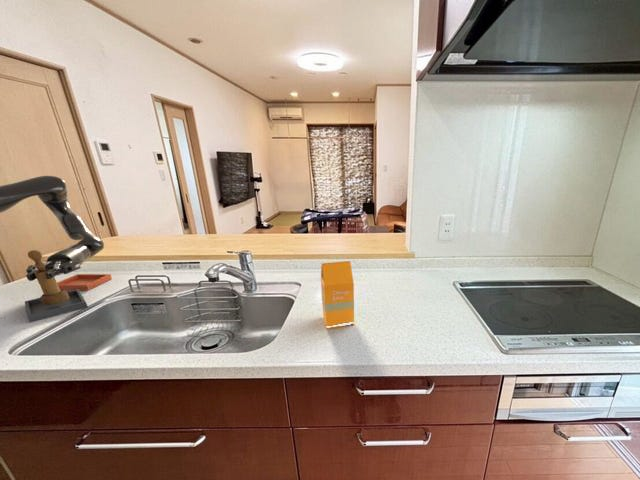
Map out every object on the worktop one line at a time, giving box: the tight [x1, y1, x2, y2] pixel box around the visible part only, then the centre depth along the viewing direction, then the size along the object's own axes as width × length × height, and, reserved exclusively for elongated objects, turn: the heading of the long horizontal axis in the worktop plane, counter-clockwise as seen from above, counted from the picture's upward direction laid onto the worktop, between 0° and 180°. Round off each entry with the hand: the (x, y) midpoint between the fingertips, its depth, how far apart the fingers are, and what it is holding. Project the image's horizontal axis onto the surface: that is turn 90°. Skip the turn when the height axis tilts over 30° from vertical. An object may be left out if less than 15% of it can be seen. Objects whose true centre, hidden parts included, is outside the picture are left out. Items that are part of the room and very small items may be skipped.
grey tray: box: [24, 289, 89, 323], centre depth 101 cm, size 16×14×2 cm
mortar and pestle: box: [27, 249, 69, 305], centre depth 97 cm, size 7×6×18 cm
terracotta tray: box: [56, 273, 113, 291], centre depth 119 cm, size 14×12×2 cm
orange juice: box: [320, 260, 355, 330], centre depth 91 cm, size 8×9×20 cm
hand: (38, 277), depth 94 cm, fingers closed on mortar and pestle, 4 cm apart
